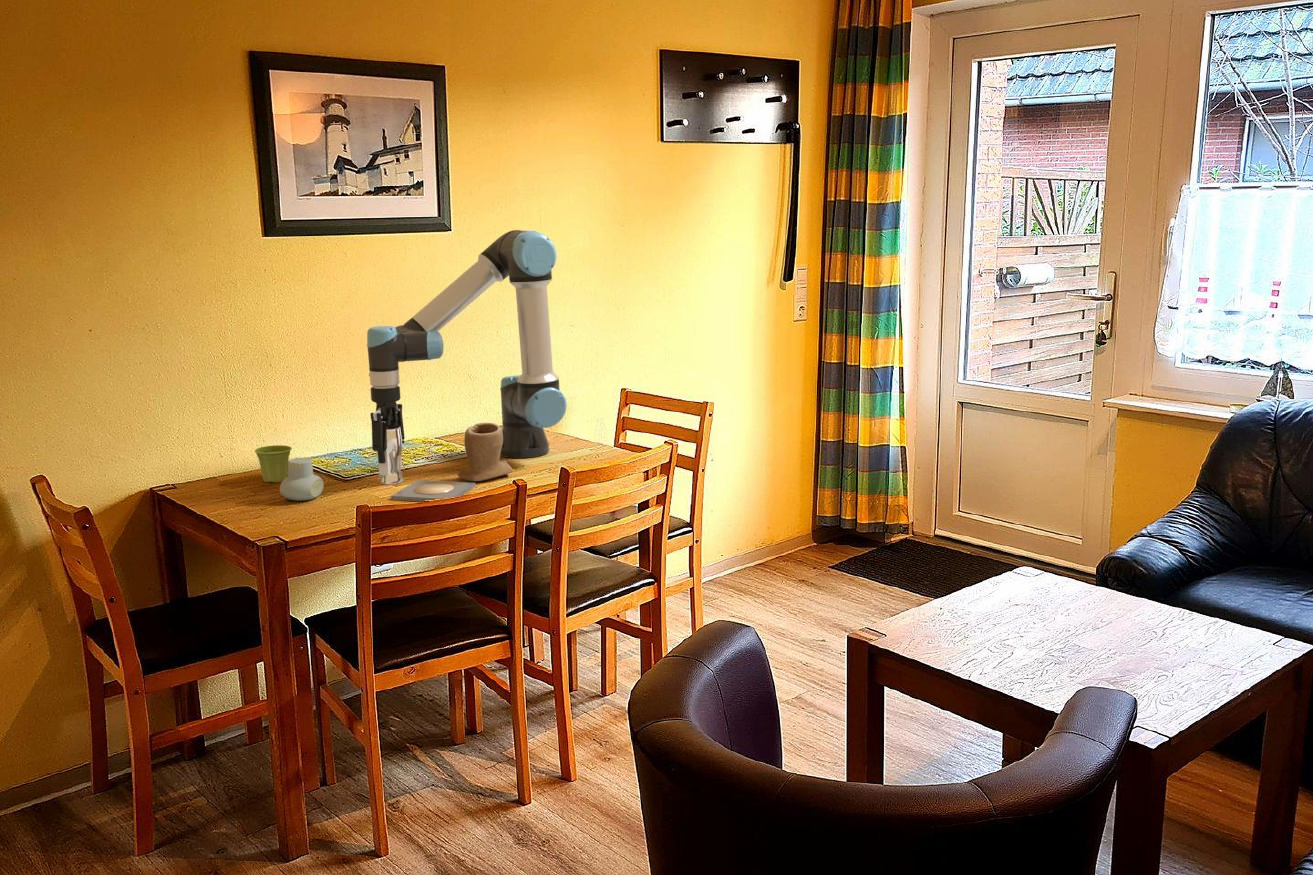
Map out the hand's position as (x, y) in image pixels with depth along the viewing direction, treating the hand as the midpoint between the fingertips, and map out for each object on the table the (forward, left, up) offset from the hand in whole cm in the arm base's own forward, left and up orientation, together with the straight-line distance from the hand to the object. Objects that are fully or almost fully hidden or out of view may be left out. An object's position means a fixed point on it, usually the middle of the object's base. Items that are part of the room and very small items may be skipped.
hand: (390, 471), depth 300 cm
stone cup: (-9, +24, -3) cm, 26 cm away
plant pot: (+4, -32, -3) cm, 32 cm away
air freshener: (+19, -15, -3) cm, 24 cm away
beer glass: (0, 0, -3) cm, 3 cm away
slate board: (+8, +16, -3) cm, 18 cm away
